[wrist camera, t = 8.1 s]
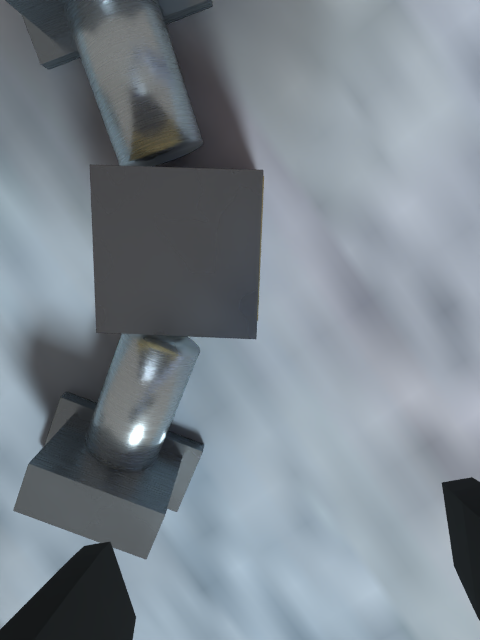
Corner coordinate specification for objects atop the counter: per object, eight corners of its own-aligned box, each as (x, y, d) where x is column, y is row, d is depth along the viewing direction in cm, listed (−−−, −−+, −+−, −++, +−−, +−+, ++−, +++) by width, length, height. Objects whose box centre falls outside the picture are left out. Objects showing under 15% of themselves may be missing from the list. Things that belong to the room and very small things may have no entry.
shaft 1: (250, 132, 17) (248, 106, 13) (93, 187, 18) (41, 180, 13) (182, -95, 16) (153, -212, 11) (12, -25, 16) (-76, -111, 12)
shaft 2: (97, 299, 19) (50, 325, 14) (241, 356, 19) (237, 398, 15) (45, 453, 21) (-10, 517, 16) (179, 503, 21) (158, 579, 17)
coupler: (257, 301, 19) (257, 340, 13) (145, 296, 19) (94, 334, 13) (262, 183, 18) (265, 168, 12) (143, 179, 18) (87, 162, 12)
